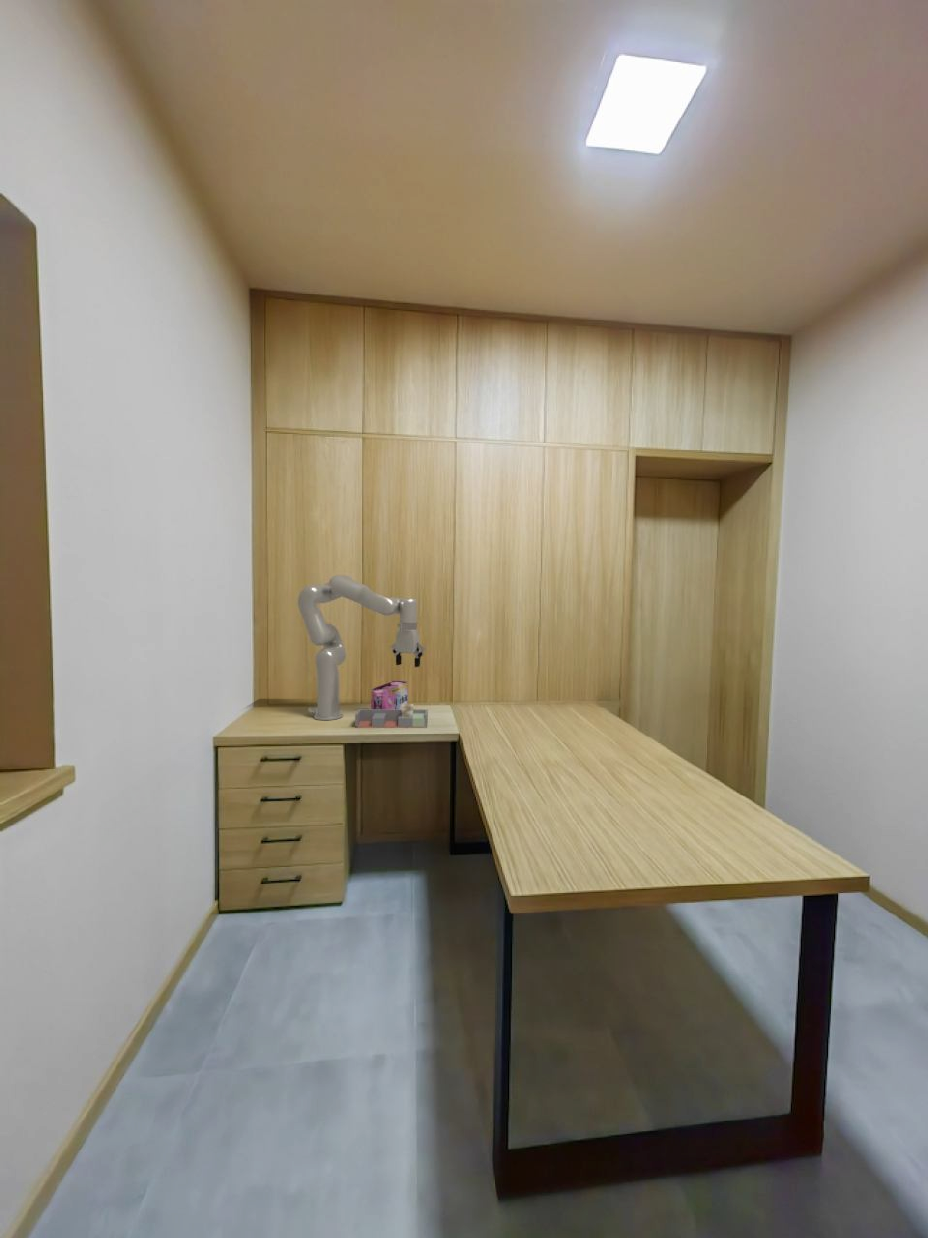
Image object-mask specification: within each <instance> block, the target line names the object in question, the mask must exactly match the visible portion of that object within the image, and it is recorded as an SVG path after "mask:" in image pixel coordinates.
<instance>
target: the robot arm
mask: <svg viewBox="0 0 928 1238" xmlns="http://www.w3.org/2000/svg"><path fill="white" fill-rule="evenodd" d="M342 597H343V598H345V599H348V600H350V601H353V602H354V603H357V604H359V605H360V606H362V607H364V608H366V609H368V610H370V611H372V612H375V613H377V614H380V615H383V616H387V617H388V616H394V615H399V623H397V627H399V629H397V632H396V638H395V643H394V644H391V645H390V647H391V650H392V653H393V654H394V656H395V664H396V666H401V665H402V660H403V659H402V654H409V655H410V654H413V656H414V657H415V658H414V668H419V667H420V666H421V658H422V656H423V655H425V654H424V653H425V651H426V647H424V646H423V645H422V644H421V643H420V635H419V634H420V633H419V630H418V601H417V599H416V598H400V597H399V598H398V597H386V596H384V595H381V594H379V593H377V592H374V591H373V590H371V589H370V587H368V586H367V584H363V583H361V582H358V581H355V580H354V579H353V578H351V577H350V576H348V575H343V574H342V575H341V574H336V575H333V576H332V577H331V578H330V579H329V581H328V582H327V583H324V584H310V585H307V586H305V587H304V588H303V589H302V590H301V591H300V593H299V595H298V597H297V606H298V610H299V612H300V615H301V618H302V620H303V622H304V626H305V628H306V631H307V633H308V637H309V639H310V641H311V643H312V644H313V645H315V646H322V647H323V648H321V649H320V650H318V652H317V653H316V655H315V668H316V669H315V670H316V680H317V681H316V682H317V683H316V684H317V685H316V686H317V687H316V688H317V689H316V690H317V698H316V700H317V702H316V703H317V705H316V706H315V707H308V708H307V712H309V714H311V713H312V714H313V713H314V714H313V717H314V719H315V720H318V721H332V720H333V721H334V720H338V719H340V718H343V715H344V713H343V712H342V711H340V674H339V668H338V666H339V665H342V664H343V663H344V662H345V661H346V659H347V650H346V649H345V646H344V643H343V640H342V637H341V635H340V632H339V630H338V629H337V627H336V626H335V625H334V624H331V623H328V622H326V621H325V618H324V616H323V613H322V611H321V609H320V608H319V607H318V604H326V603H329V602H332V601H334V600H337V599H339V598H342Z"/></svg>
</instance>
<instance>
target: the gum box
mask: <svg viewBox="0 0 928 1238" xmlns="http://www.w3.org/2000/svg"><path fill="white" fill-rule="evenodd" d="M370 693H371V697H370V699H371V700H370V709H402V705H403V704H409V699H408V698H409V682H408V681H404V680H391V681H389V682H387V683H383V684H381V685H379V686H375V687H374V688H371V692H370Z"/></svg>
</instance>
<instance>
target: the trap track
mask: <svg viewBox="0 0 928 1238" xmlns="http://www.w3.org/2000/svg"><path fill="white" fill-rule="evenodd" d="M428 713H429V709H421V708H420V709H414V708H413V717H402V709H371V708H369V709H367V708H366V709H365V708H359V709H358V710H357V711H356V713H355V714H354V715H355V716H354V722H355V724H354V727H355V729H356V728H363V729H364V728H366V729H367V728H372V727H373V729H374V727H376V728H377V729H378V728H384V729H385V728H388V729H391V728H393V729H394V728H396V729H397V728H401V729H405V728H407V729H410V728H411V729H414V728H415V729H416V728H417V729H421V728H422V729H424V728H423V727H426V729H427V728H428V721H429V719H428V717H429V716H428V715H429V714H428Z"/></svg>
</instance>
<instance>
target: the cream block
mask: <svg viewBox="0 0 928 1238" xmlns="http://www.w3.org/2000/svg"><path fill="white" fill-rule="evenodd" d="M413 709H414V703H408V704H403V705H402V717H413Z"/></svg>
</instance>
